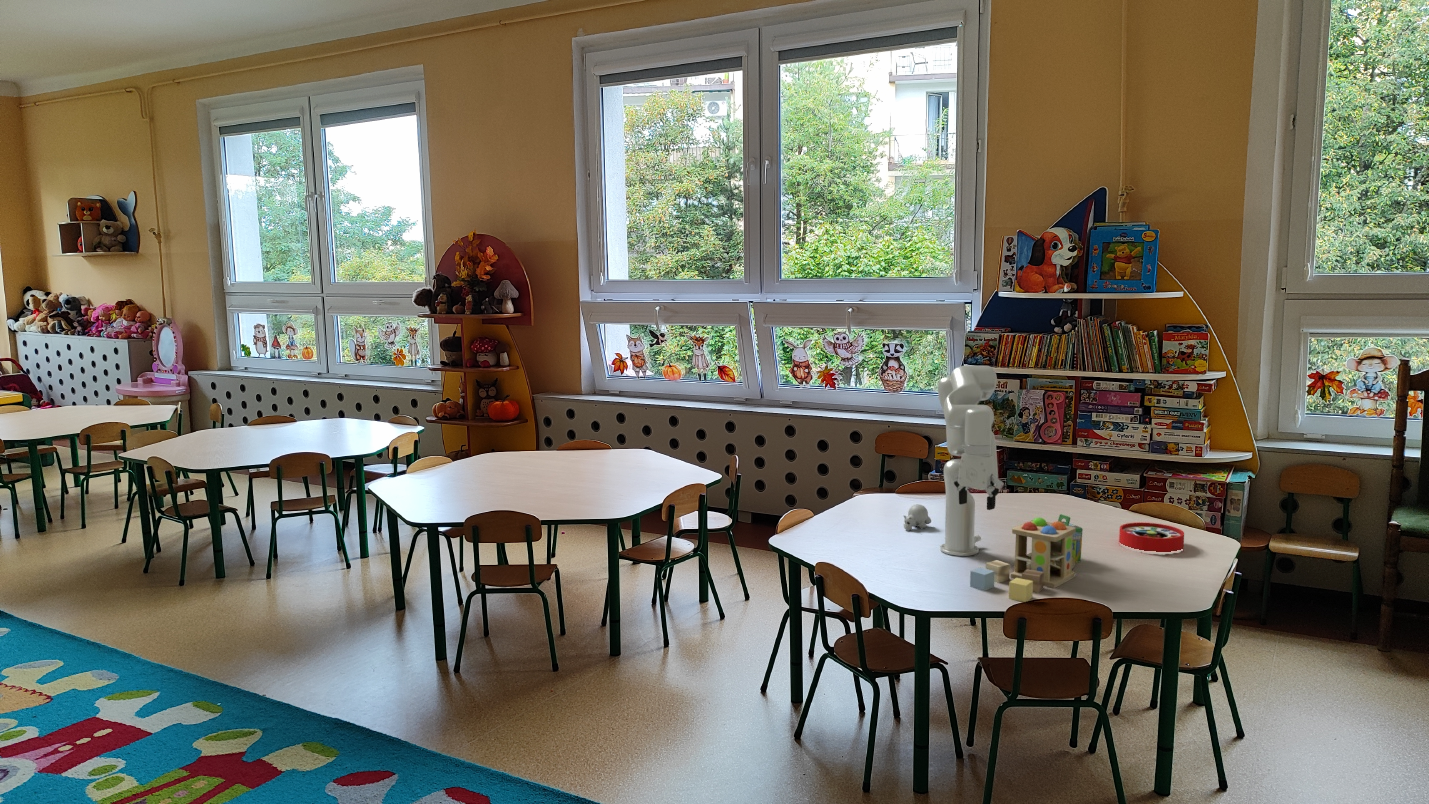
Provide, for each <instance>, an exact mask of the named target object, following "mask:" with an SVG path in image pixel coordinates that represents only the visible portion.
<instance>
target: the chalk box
mask: <svg viewBox="0 0 1429 804" xmlns="http://www.w3.org/2000/svg"><path fill="white" fill-rule="evenodd" d="M1063 519H1064V520H1065V521H1062V520H1063ZM1057 520H1058V521H1060V522H1062V523H1064V524H1065V525H1066V526H1071V527H1075V528H1076V532H1075V533H1074V534H1073V542H1072V558H1073V559H1074V562H1075V563H1080V562H1079V561H1082V545H1083V544H1082V543H1083V542H1082V541H1083V528H1082V527H1081V526H1078V525H1075V524H1072V523H1070V522H1071V517H1070V516H1068V515H1065V514H1059V516H1058V519H1057ZM1055 555H1057V554H1055ZM1054 564H1055V561H1054Z"/></svg>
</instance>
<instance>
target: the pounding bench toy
mask: <svg viewBox="0 0 1429 804" xmlns="http://www.w3.org/2000/svg"><path fill="white" fill-rule="evenodd" d="M1062 522H1063V521H1062ZM1062 522H1060V521H1057V520H1055V521H1054V522H1049V521H1046V520H1045V518H1043V517H1035V518H1034V519H1032V520H1029V521H1027V522H1025V523H1022V524H1020V525H1016V526H1015V527H1013V528H1012V527H1011V533H1012V534H1013V535H1015V546H1014V548H1015V549H1014V554H1015V555H1014V569H1013V570H1014V571H1013V572H1011V573H1010V578H1011V579H1012V580H1013V579H1015V578H1020V579H1022V573H1023V572H1024V571H1026V570H1027V569H1029V570H1035V571H1041V572H1044V586H1043V587H1048V588H1051V589H1055V588H1057V587H1059V586H1061V585H1063V584H1065V583H1067V582H1068V581H1071V580H1072V579H1073V578H1075V576H1076V572H1075V571H1073V570H1072V569H1074V567H1075V566H1076V562H1074V559H1073V558H1072V542H1073V534H1074V533H1075V532H1076V528H1075V527H1071V526H1066V525H1065V524H1064V523H1062ZM1028 538H1031V552H1030V553H1028V552H1027V551H1028ZM1055 554H1057V555H1055ZM1054 561H1055V563H1054ZM1028 562H1029V564H1027V563H1028Z"/></svg>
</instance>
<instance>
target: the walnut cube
mask: <svg viewBox="0 0 1429 804" xmlns="http://www.w3.org/2000/svg"><path fill="white" fill-rule="evenodd" d="M1022 579H1025V580H1030V581H1033V593H1037V594H1038V593H1040V592H1041V591H1042V590H1043V589H1044V587H1045V586H1044V572H1041V571H1035V570H1029V569H1027V570H1026V571H1024V572H1023V573H1022Z"/></svg>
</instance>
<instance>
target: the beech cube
mask: <svg viewBox="0 0 1429 804" xmlns="http://www.w3.org/2000/svg"><path fill="white" fill-rule="evenodd" d="M1010 568H1011V564H1010V563H1007V562H1003V561H1001V560H997V559H996V560H993V561H988V562H985V569H988V570H992V571H995V573H994V583H997V584H998V583H1002V582H1006V581H1010V577H1011V573H1010V571H1011V570H1010Z"/></svg>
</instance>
